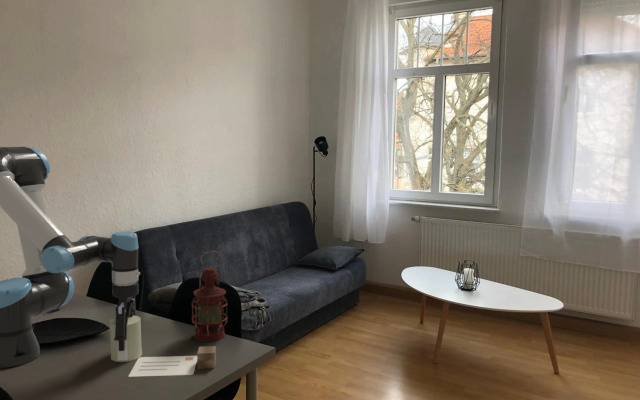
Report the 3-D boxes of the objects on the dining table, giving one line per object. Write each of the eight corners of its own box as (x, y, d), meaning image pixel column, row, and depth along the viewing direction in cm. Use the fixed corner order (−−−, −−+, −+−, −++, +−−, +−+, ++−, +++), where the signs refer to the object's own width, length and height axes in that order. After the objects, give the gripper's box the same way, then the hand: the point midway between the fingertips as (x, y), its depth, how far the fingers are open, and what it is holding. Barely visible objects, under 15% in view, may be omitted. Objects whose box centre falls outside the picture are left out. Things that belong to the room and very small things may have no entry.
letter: (128, 377, 142) (128, 376, 142) (138, 357, 155) (138, 357, 155) (193, 375, 144) (193, 374, 144) (198, 356, 157) (198, 355, 157)
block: (197, 369, 148) (197, 353, 147) (199, 362, 153) (199, 346, 152) (214, 369, 149) (214, 353, 148) (215, 361, 154) (215, 346, 153)
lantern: (212, 327, 182) (212, 246, 179) (234, 335, 174) (235, 251, 171) (184, 336, 173) (184, 251, 169) (206, 346, 165) (206, 257, 162)
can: (104, 358, 154) (102, 320, 152) (128, 347, 162) (126, 311, 160) (125, 364, 149) (123, 326, 148) (148, 353, 157) (147, 316, 156)
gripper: (129, 292, 143) (130, 368, 145) (145, 273, 164) (146, 339, 167) (101, 293, 142) (103, 369, 144) (122, 273, 163) (123, 340, 166)
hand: (126, 353), depth 155 cm, fingers closed on can, 9 cm apart
